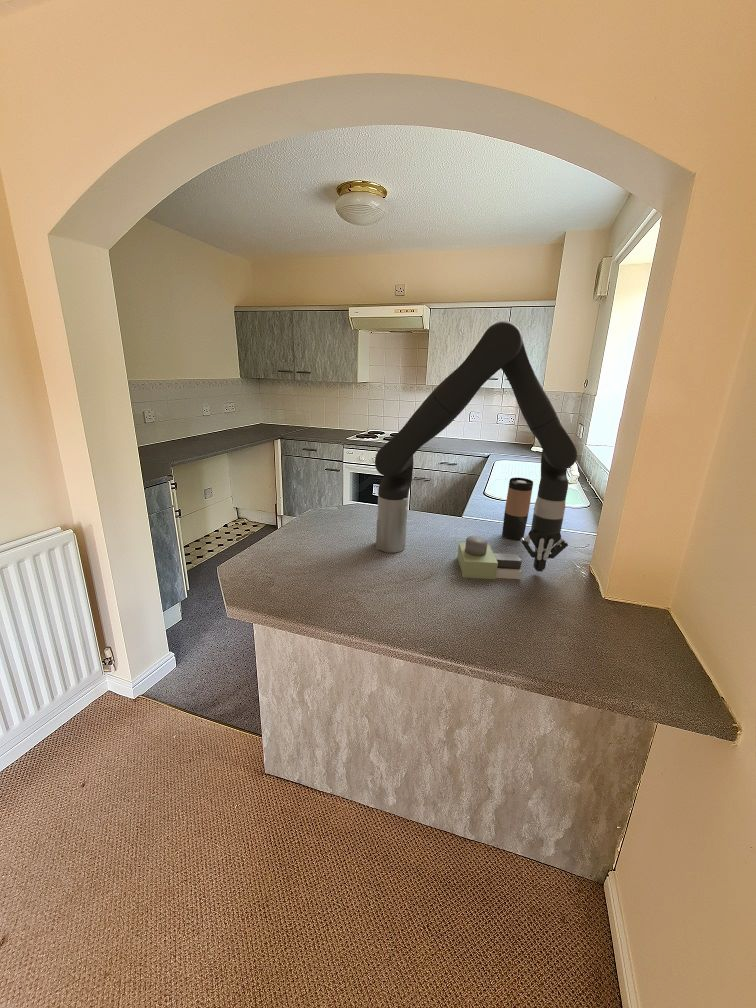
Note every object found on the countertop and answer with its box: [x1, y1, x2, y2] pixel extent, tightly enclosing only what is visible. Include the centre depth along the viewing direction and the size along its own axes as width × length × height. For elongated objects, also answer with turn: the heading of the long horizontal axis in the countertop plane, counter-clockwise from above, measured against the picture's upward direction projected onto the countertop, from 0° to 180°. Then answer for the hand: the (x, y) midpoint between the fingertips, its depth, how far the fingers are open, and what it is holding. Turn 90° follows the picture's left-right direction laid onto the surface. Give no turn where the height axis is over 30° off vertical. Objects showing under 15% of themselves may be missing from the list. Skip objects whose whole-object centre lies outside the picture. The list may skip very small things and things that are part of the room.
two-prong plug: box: [456, 535, 522, 580], centre depth 117 cm, size 16×12×8 cm
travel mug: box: [501, 477, 534, 541], centre depth 138 cm, size 8×8×20 cm
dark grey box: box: [493, 552, 522, 570], centre depth 116 cm, size 7×4×5 cm, turn 87°
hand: (538, 570), depth 116 cm, fingers closed
